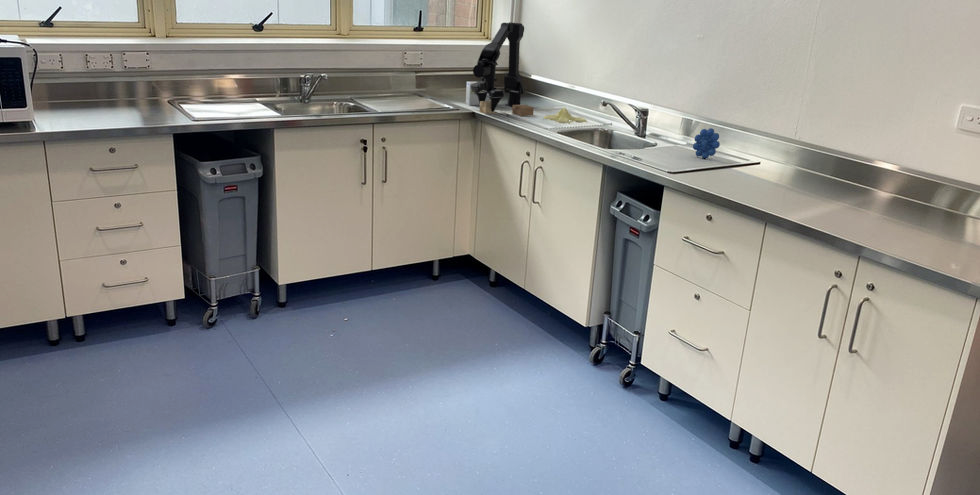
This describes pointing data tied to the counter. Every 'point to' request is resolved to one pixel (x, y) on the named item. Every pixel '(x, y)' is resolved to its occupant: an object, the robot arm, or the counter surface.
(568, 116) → the cloth
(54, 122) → the counter surface
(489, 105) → the oak cube
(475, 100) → the light bulb box
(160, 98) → the counter surface
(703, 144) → the blue flower shape
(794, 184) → the counter surface
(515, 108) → the walnut base block
